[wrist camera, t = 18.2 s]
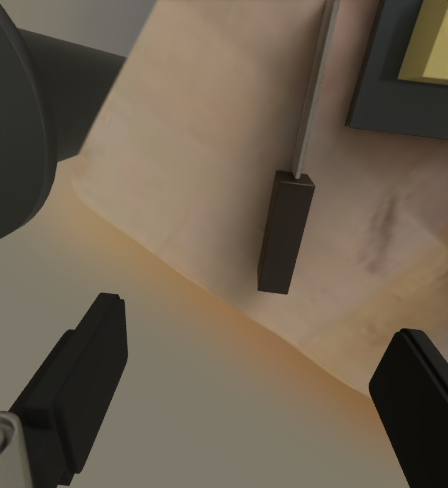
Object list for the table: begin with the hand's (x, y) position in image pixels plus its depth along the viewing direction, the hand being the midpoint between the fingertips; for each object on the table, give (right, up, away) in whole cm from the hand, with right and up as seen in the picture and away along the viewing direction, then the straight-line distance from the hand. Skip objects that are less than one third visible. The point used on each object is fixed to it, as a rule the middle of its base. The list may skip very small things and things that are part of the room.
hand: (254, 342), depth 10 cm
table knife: (+4, +9, +11) cm, 15 cm away
